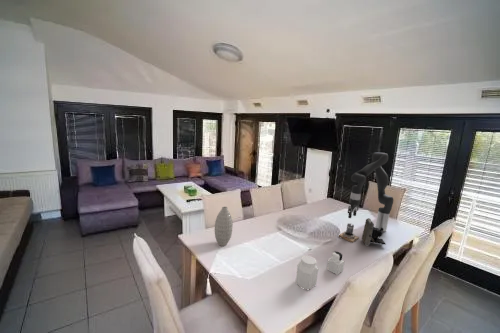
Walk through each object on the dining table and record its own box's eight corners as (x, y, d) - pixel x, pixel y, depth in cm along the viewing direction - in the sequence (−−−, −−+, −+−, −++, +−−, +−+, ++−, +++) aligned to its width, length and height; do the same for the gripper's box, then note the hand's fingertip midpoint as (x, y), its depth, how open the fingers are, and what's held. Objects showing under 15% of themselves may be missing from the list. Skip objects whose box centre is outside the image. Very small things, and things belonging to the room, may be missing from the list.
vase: (215, 239, 175) (216, 203, 170) (231, 240, 176) (234, 204, 170) (212, 248, 163) (214, 210, 158) (230, 249, 163) (233, 211, 158)
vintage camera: (385, 249, 180) (391, 225, 177) (364, 245, 183) (369, 221, 180) (381, 243, 190) (386, 220, 186) (361, 239, 193) (366, 217, 189)
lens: (347, 233, 198) (349, 222, 196) (353, 236, 194) (355, 225, 192) (344, 235, 194) (346, 224, 193) (350, 238, 191) (352, 226, 189)
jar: (305, 274, 141) (308, 252, 139) (318, 283, 134) (322, 260, 131) (292, 282, 134) (295, 258, 131) (306, 292, 127) (309, 267, 124)
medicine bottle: (332, 265, 153) (335, 248, 151) (342, 271, 148) (345, 254, 146) (326, 269, 149) (329, 252, 147) (336, 275, 144) (339, 257, 141)
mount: (345, 232, 203) (345, 229, 202) (358, 238, 194) (359, 234, 193) (338, 236, 195) (338, 232, 194) (352, 242, 186) (352, 238, 185)
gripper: (354, 195, 196) (351, 213, 199) (346, 198, 186) (343, 217, 189) (363, 198, 190) (360, 216, 193) (355, 201, 181) (352, 220, 184)
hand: (352, 216), depth 191 cm, fingers open, 8 cm apart
